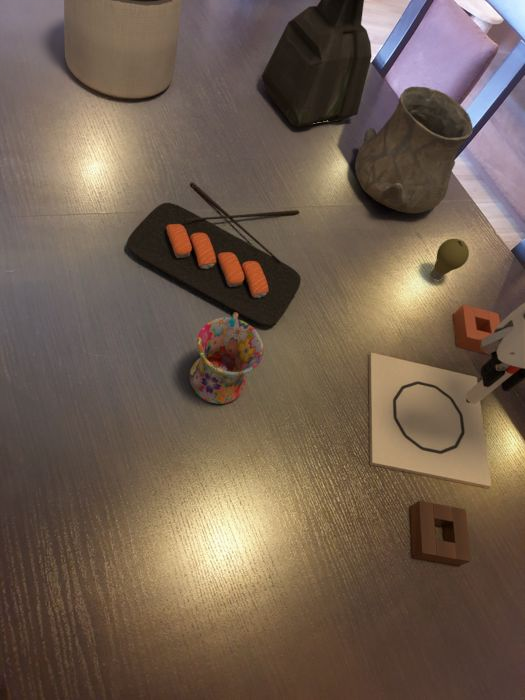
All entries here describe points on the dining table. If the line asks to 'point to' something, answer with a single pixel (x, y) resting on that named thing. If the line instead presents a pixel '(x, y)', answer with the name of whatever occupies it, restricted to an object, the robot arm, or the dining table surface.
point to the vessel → (413, 151)
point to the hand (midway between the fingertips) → (494, 379)
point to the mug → (225, 359)
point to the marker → (481, 391)
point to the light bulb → (449, 257)
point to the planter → (122, 45)
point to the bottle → (320, 63)
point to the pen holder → (473, 326)
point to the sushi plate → (217, 260)
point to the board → (425, 422)
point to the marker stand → (454, 532)
